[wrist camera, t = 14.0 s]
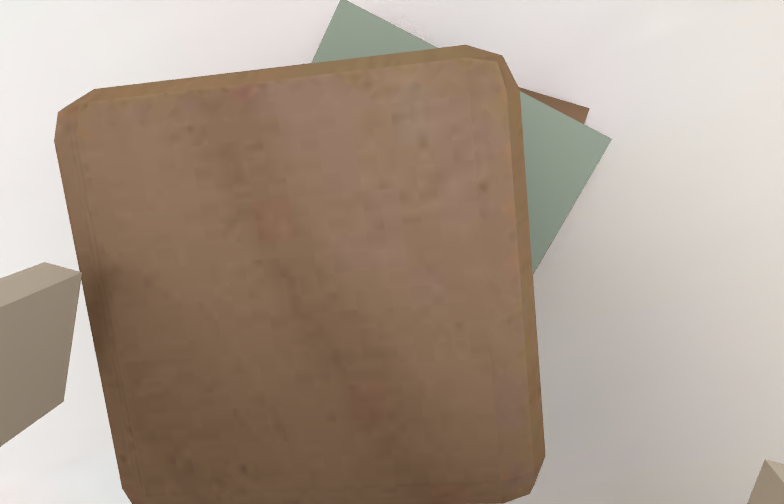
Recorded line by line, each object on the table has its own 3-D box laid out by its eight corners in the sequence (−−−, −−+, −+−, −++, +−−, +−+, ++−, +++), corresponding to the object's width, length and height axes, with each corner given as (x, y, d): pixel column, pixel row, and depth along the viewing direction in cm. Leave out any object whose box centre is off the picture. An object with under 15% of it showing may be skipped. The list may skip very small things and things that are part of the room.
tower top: (468, 353, 41) (466, 387, 36) (252, 239, 41) (222, 259, 36) (595, 133, 37) (612, 139, 33) (359, 10, 38) (341, -3, 33)
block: (309, 300, 36) (112, 534, 16) (282, 98, 34) (22, 93, 15) (509, 285, 35) (552, 522, 15) (493, 74, 33) (518, 34, 13)
